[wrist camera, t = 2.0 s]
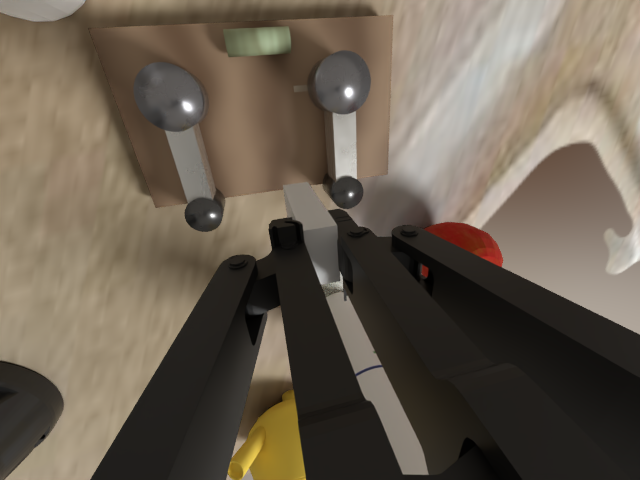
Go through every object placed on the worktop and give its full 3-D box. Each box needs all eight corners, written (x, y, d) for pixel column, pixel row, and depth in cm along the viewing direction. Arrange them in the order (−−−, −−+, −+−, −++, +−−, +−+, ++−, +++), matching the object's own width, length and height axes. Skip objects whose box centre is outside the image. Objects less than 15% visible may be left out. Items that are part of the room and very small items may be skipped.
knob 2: (305, 59, 24) (314, 52, 21) (353, 55, 25) (371, 48, 21) (317, 199, 30) (326, 212, 26) (356, 193, 31) (370, 205, 27)
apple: (425, 271, 41) (478, 321, 32) (385, 248, 38) (431, 297, 28) (465, 224, 39) (534, 263, 30) (425, 194, 36) (490, 229, 26)
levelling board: (161, 201, 29) (150, 214, 25) (100, 33, 22) (74, 22, 19) (380, 170, 33) (395, 178, 29) (383, 20, 26) (403, 9, 23)
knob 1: (142, 69, 22) (122, 64, 18) (201, 65, 23) (192, 59, 19) (190, 218, 28) (182, 235, 24) (235, 211, 28) (233, 227, 25)
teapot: (203, 422, 45) (187, 539, 33) (264, 360, 42) (271, 464, 30) (296, 447, 54) (310, 545, 42) (351, 397, 51) (383, 489, 39)
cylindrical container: (314, 295, 39) (402, 548, 17) (363, 288, 40) (501, 513, 18) (315, 333, 42) (388, 587, 20) (360, 325, 43) (474, 555, 22)
